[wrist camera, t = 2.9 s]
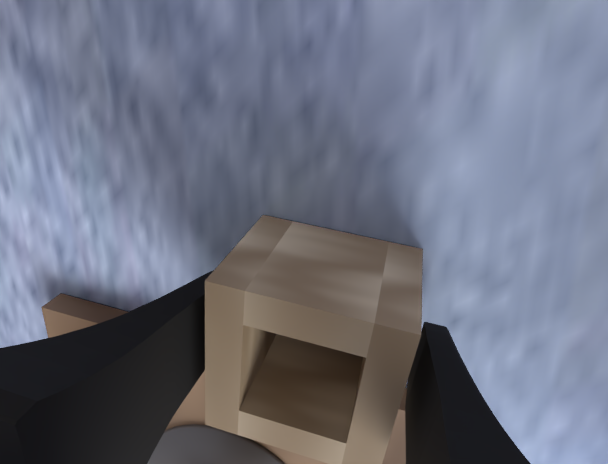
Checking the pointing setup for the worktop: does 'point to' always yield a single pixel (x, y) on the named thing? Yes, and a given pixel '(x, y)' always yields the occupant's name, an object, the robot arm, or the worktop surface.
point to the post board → (199, 409)
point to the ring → (312, 339)
